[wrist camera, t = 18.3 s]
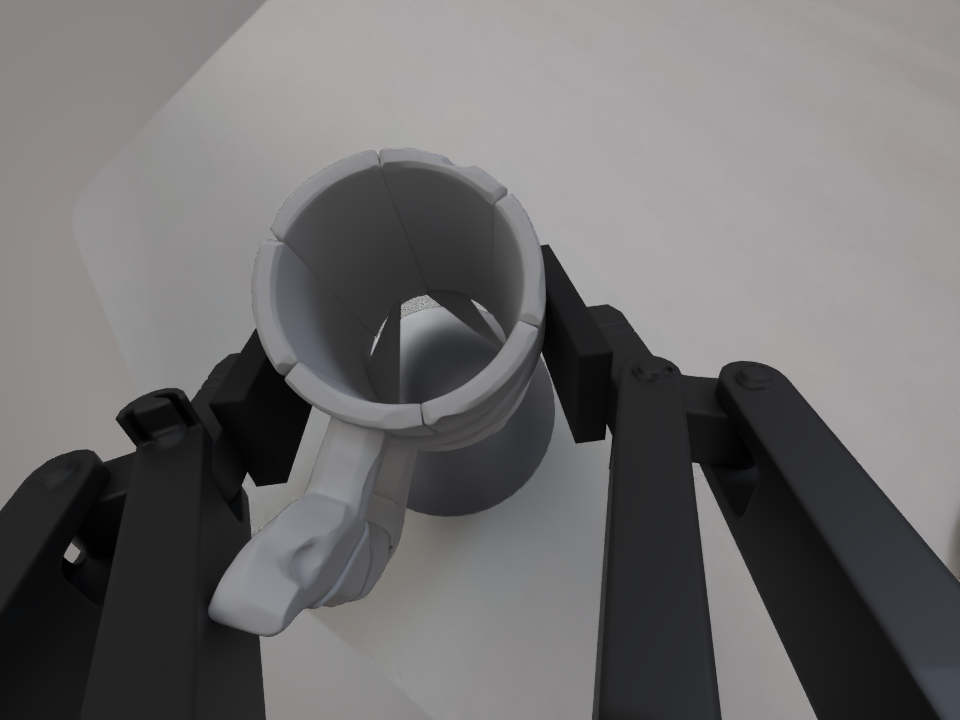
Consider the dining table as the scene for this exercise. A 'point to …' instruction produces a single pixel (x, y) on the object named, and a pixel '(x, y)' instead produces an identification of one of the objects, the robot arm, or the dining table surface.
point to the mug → (378, 359)
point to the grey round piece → (495, 459)
